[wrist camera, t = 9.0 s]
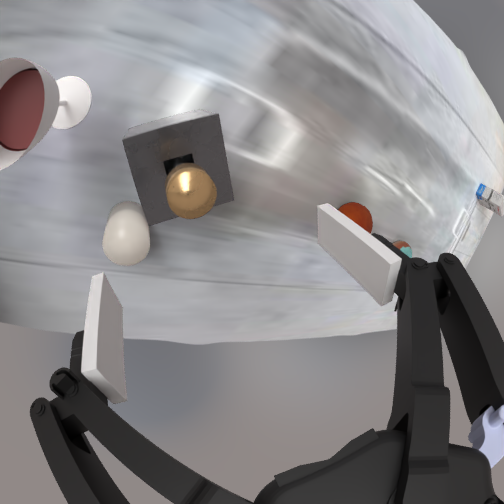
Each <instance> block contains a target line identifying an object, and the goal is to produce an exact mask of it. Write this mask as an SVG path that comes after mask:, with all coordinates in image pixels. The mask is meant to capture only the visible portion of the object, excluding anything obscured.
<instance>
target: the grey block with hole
mask: <svg viewBox="0 0 504 504" xmlns="http://www.w3.org/2000/svg"><path fill="white" fill-rule="evenodd" d="M122 141H123V145H124V148H125V152H126V156H127V159H128V163H129V166H130V169H131V173H132V176H133V180H134V183H135V186H136V189H137V192H138V196H139V199H140V202H141V205H142V208H143V211H144V214H145V217H146V220H147V223H148V226H151V225H154V224H157V223H160V222H163V221H166V220H169V219H173V218H176V217H179V216H178V215H176V214H175V213H174V212H173V211H172V210H171V208H170V207H169V204H168V200H167V196H166V191H165V181H166V178H167V175H166V171H165V167H164V163H163V161H166V160H169V159H173V158H176V157H180V156H183V155H187V154H192V159H193V164H197V165H199V166H200V167H202V168H203V169H204V170H205V171H206V173H207V174H208V175H209V176H210V178H211V179H212V180H213V182H214V184H215V186H216V190H217V197H216V201H215V203H214V205H213V206H216V205H219V204H223V203H226V202H230V201H233V200H234V197H233V192H232V186H231V180H230V175H229V169H228V164H227V158H226V152H225V147H224V141H223V135H222V130H221V124H220V118H219V114H217V113H214V112H210V111H206V110H202V109H198V110H193V111H189V112H185V113H181V114H177V115H173V116H169V117H166V118H162V119H158V120H155V121H151V122H148V123H145V124H141V125H138V126H135V127H132V128H129V129H128V131H127V133H126V135H125V136H124V138H123V140H122Z"/></svg>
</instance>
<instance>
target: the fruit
mask: <svg viewBox="0 0 504 504" xmlns="http://www.w3.org/2000/svg"><path fill="white" fill-rule="evenodd" d="M338 211H340V212H341V213H342V214H344V215H345V216H347V217H348V218H349V219H351V220H352V221H353V222H355V223H356V224H357V225H359V226H360V227H361V228H363V229H364V230H365V231H367V232H368V233H369V234H370V233H371V231H372V225H373V222H372V216H371V214H370V212H369V210H368V209H367V208H366V207H365V206H363V205H361V204H359V203H355V202H350V203H347V204H344V205H342V206H341V207H340V208H339V209H338Z"/></svg>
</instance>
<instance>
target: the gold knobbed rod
mask: <svg viewBox="0 0 504 504" xmlns="http://www.w3.org/2000/svg"><path fill="white" fill-rule="evenodd" d="M163 163H164V167H165V171H166V175H167V178H166V181H165V191H166V196H167V200H168V204H169V207H170V208H171V210H172V211H173V212H174V213H175V214H176V215H178V216H180V217H182V218H186V219H194V218H198V217H201V216H203V215H205V214H206V213H207V212H209V211H210V209H211V208H212V207H213V205H214V203H215V201H216V197H217V190H216V186H215V184H214V182H213V180H212V179H211V178H210V176H209V175H208V174H207V173H206V171H205V170H204V169H203V168H202V167H200V166H199V165H197V164H193V159H192V154H187V155H183V156H180V157H176V158H173V159H169V160H166V161H163Z"/></svg>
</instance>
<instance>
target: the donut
mask: <svg viewBox="0 0 504 504" xmlns="http://www.w3.org/2000/svg"><path fill="white" fill-rule="evenodd" d="M393 245H394V246H396V247H397V248H398V249H400V250H401V251H402V252H403V253H405V254H406V255H407V256H409V257H410V258H411V257H412V250H411V247H410V246H409V245H408V244H407V243H406V242H403V241H397V242H394V243H393Z"/></svg>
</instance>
